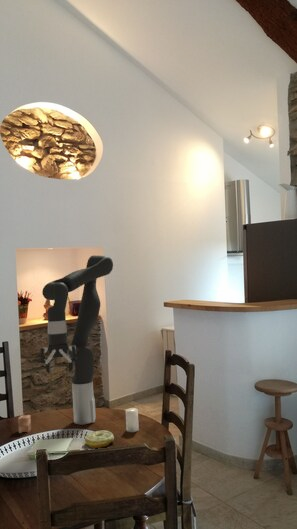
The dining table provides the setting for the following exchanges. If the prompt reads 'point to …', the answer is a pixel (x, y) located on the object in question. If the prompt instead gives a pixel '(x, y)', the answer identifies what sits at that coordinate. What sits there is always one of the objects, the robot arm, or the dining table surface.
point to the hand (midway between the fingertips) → (59, 372)
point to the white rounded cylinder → (132, 420)
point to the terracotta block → (24, 423)
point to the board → (51, 445)
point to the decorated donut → (99, 439)
